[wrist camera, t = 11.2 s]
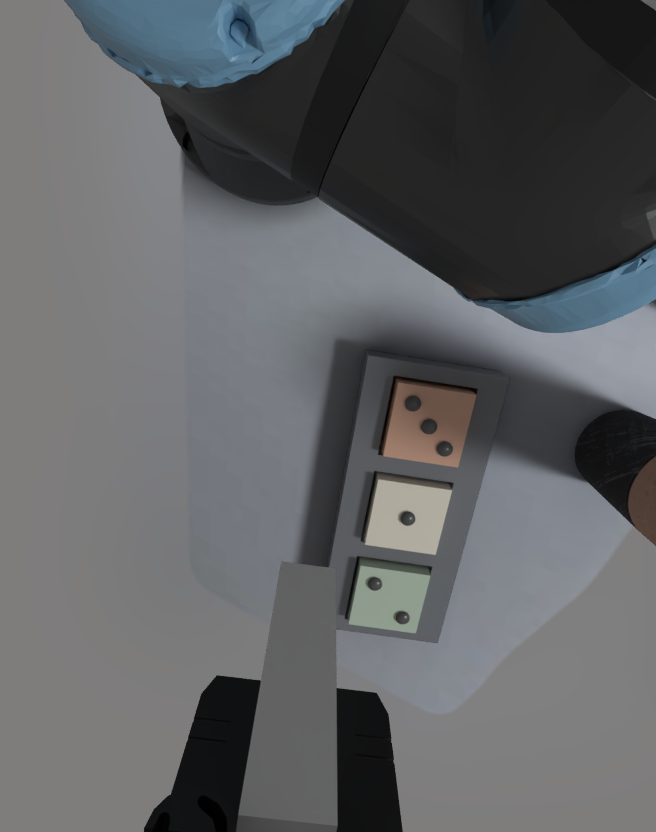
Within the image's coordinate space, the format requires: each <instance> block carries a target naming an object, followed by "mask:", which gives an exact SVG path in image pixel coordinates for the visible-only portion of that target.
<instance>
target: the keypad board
mask: <svg viewBox="0 0 656 832" xmlns="http://www.w3.org/2000/svg"><path fill="white" fill-rule="evenodd" d="M394 376H400V377H407V378H413V379H419V380H426V381H432V382H438V383H445V384H451V385H457V386H464V387H469V388H470V389H471V390H472V391H473V392H474V393H475V394H476V399H475V403H474V407H473V411H472V415H471V419H470V423H469V427H468V431H467V435H466V438H465V442H464V446H463V450H462V454H461V458H460V462H459V466H458V468H457V467H451V466H444V465H438V464H431V463H424V462H418V461H411V460H405V459H398V458H392V457H385V456H383V454H382V450H381V446H380V441H381V436H382V431H383V426H384V422H385V417H386V412H387V407H388V402H389V397H390V392H391V387H392V382H393V377H394ZM509 381H510V378H509V377H508V376H506V375H505V374H503V373H502V372H500V371H495V370H489V369H483V368H476V367H470V366H464V365H458V364H451V363H445V362H439V361H433V360H426V359H420V358H414V357H408V356H401V355H395V354H389V353H383V352H376V351H370V350H366V354H365V359H364V365H363V370H362V375H361V381H360V386H359V392H358V397H357V403H356V408H355V414H354V419H353V425H352V430H351V436H350V441H349V446H348V452H347V457H346V463H345V468H344V474H343V479H342V485H341V490H340V496H339V501H338V507H337V512H336V518H335V523H334V528H333V534H332V539H331V545H330V550H329V556H328V561H327V567H329V568H336V629H338V630H345V631H352V632H360V633H367V634H374V635H381V636H388V637H396V638H403V639H410V640H417V641H425V642H432V643H438V640H439V636H440V633H441V629H442V626H443V622H444V618H445V615H446V611H447V607H448V604H449V600H450V596H451V593H452V589H453V585H454V582H455V578H456V574H457V571H458V567H459V563H460V560H461V556H462V553H463V549H464V545H465V542H466V538H467V534H468V531H469V527H470V523H471V520H472V516H473V512H474V509H475V505H476V501H477V498H478V494H479V490H480V487H481V483H482V480H483V476H484V472H485V469H486V465H487V461H488V458H489V454H490V450H491V447H492V443H493V439H494V436H495V432H496V428H497V425H498V421H499V417H500V414H501V410H502V407H503V403H504V399H505V396H506V392H507V388H508V385H509ZM374 471H379V472H385V473H392V474H399V475H405V476H412V477H419V478H425V479H432V480H438V481H445V482H448V483H449V485H450V487H451V489H452V493H451V497H450V501H449V505H448V509H447V513H446V517H445V520H444V524H443V528H442V532H441V536H440V540H439V544H438V548H437V552H436V555H432V554H425V553H418V552H412V551H405V550H398V549H391V548H384V547H377V546H370V545H365V541H364V532H363V525H364V520H365V515H366V510H367V505H368V500H369V496H370V491H371V486H372V481H373V476H374ZM357 556H362V557H369V558H376V559H383V560H390V561H397V562H404V563H411V564H418V565H425V566H428V569H429V572H430V575H431V576H430V580H429V584H428V588H427V592H426V596H425V599H424V603H423V607H422V611H421V615H420V619H419V623H418V627H417V631H416V633H409V632H401V631H394V630H387V629H380V628H372V627H365V626H358V625H351V624H349V621H348V599H349V594H350V589H351V584H352V579H353V574H354V570H355V565H356V560H357Z"/></svg>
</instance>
